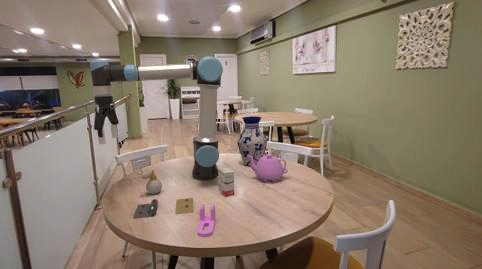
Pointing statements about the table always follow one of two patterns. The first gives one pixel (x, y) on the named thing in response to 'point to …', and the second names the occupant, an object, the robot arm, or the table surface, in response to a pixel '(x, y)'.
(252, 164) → the teapot
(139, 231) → the table surface
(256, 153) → the vase
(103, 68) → the robot arm
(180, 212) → the plate
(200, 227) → the bracket
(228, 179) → the ink box
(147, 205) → the steel leaf
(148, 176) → the perfume bottle
